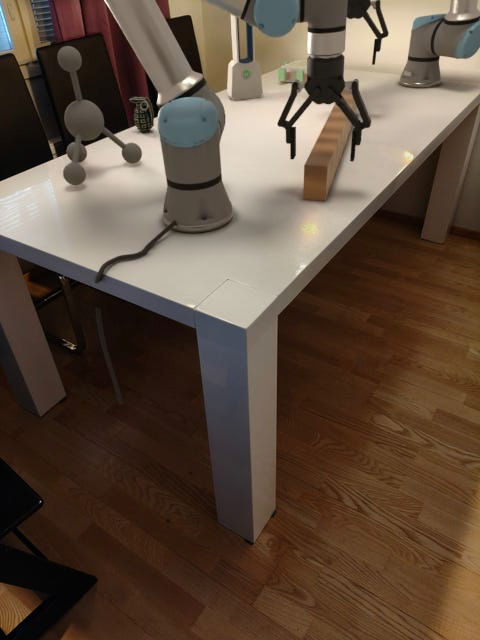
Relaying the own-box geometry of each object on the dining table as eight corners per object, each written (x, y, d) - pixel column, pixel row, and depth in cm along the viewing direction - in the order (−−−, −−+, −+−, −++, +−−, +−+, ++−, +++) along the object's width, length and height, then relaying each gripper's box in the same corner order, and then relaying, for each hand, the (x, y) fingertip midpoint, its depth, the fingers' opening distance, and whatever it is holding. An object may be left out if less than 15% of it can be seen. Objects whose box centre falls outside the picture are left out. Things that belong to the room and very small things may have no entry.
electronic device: (231, 100, 184) (226, 7, 166) (227, 96, 190) (221, 5, 172) (263, 96, 187) (261, 4, 168) (257, 92, 192) (255, 2, 174)
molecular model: (153, 175, 128) (132, 46, 109) (67, 191, 122) (30, 58, 104) (135, 149, 145) (114, 34, 127) (59, 162, 140) (26, 43, 121)
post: (325, 201, 111) (327, 166, 106) (303, 199, 112) (304, 165, 107) (356, 113, 164) (358, 88, 159) (340, 113, 165) (342, 87, 160)
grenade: (132, 133, 158) (127, 100, 152) (139, 128, 162) (134, 95, 156) (151, 133, 157) (146, 100, 150) (158, 128, 161) (153, 96, 155)
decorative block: (301, 54, 217) (341, 57, 207) (300, 70, 221) (340, 74, 211) (269, 65, 201) (312, 69, 191) (269, 82, 205) (311, 87, 195)
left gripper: (390, 49, 98) (379, 154, 111) (270, 52, 105) (273, 151, 118) (388, 56, 93) (377, 166, 106) (261, 59, 99) (265, 162, 112)
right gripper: (404, -23, 136) (393, 61, 150) (315, -20, 143) (312, 61, 156) (403, -21, 131) (392, 66, 144) (311, -18, 137) (308, 66, 150)
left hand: (322, 158), depth 112 cm, fingers open, 13 cm apart
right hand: (350, 63), depth 150 cm, fingers open, 13 cm apart
